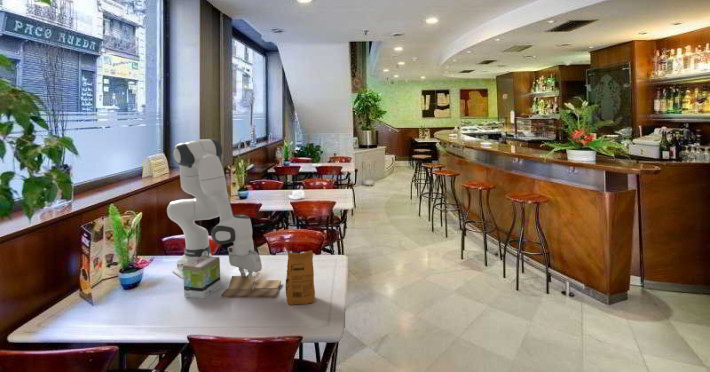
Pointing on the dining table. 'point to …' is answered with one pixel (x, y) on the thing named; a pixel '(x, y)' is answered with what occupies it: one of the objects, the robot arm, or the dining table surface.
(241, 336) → the dining table surface
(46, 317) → the dining table surface
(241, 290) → the floor strip
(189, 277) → the tea box
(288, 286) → the coffee package
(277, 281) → the plank
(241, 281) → the plank
